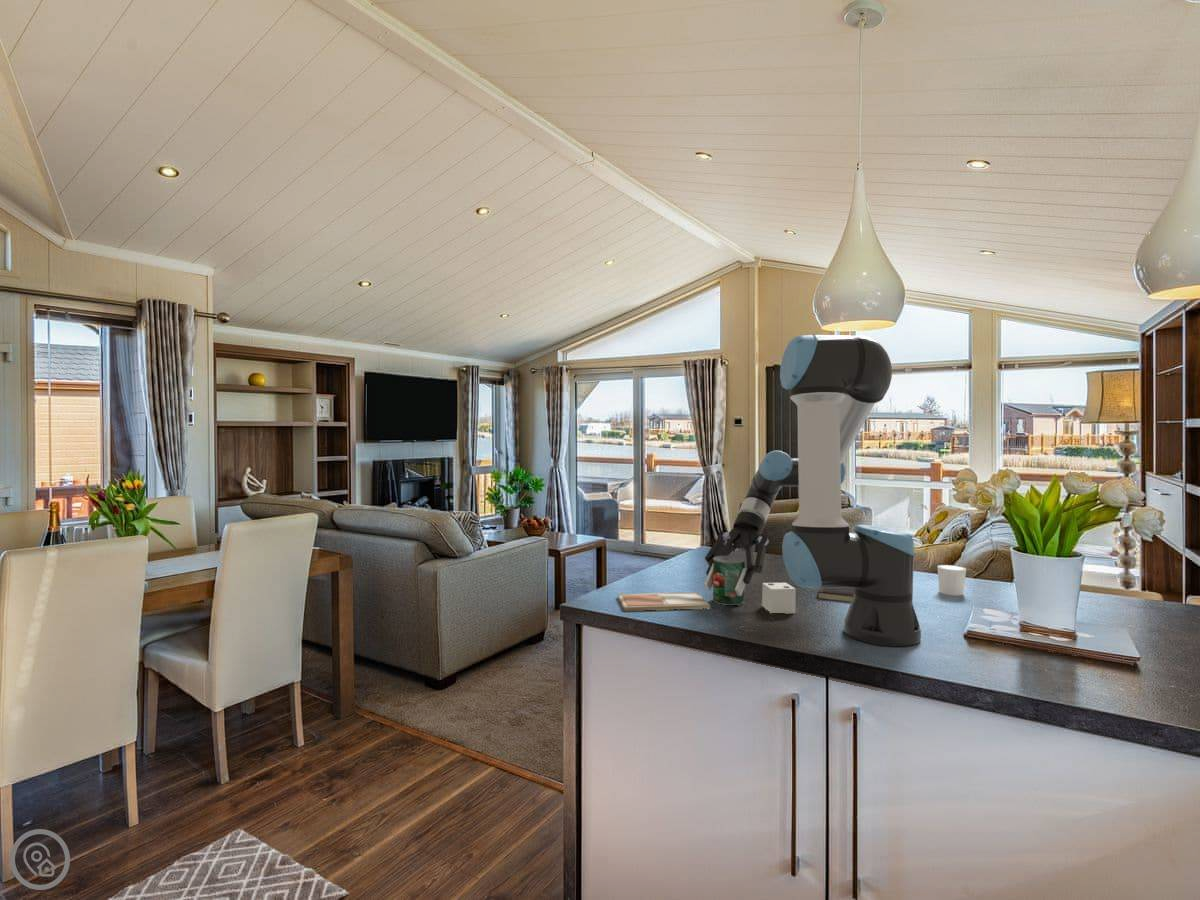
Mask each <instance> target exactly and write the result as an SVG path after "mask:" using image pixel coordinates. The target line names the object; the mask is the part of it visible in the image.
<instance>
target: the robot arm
mask: <svg viewBox="0 0 1200 900" xmlns="http://www.w3.org/2000/svg"><path fill="white" fill-rule="evenodd" d="M782 354H783V355H782V358H781V362H780V368H779V380H780V384H781V387H782V388H784V389H785V390H787V391H789V398H790V401H792V402H793V403H795V405H796V407H797V457H791V456H790V455H789V454H788V453H787V452H783V451H782V450H772V451H769V452H768V453H766V454H765V456H764V457H763V458H762V460H761V462H760V463H759V466H758V469H757V471H756V472H755V474H754V475H753V478H752V479H751V482H750V484H749V488H748V489H747V492H746V495H745V497H744V500H742V503H741V507H740V508H739V511H738V514H737V516H736V518H735V520H734V523H733V525H732V526H733V527H732V529H731V530H729V532H728V531H727V532H724V530H722V529H721V530H719V532H718V535H717V537H716V540H715V541H714V543H713V544H712V545H711V547H710V549H709V551H708V552H707V553H706V556H705V557H704V559H705V561H706V563H707V565H708V568H707V570H706V572H705V573H706V576H707V577H706V578H705V581H704V583H703V585H704V587H705V588H706V589H707V591H711V590H712V588H713V562H714V560H713V558H714V557H716V556H730V555H731V553H733V552H735V551H737V549H742V550H745V561H746V564H745V568H743V570H742V573H741V575H740V578H739V580H738V583H737V585H736V588H735V591H736V593H737V595H738V596H741V595H742V592H743V590H744V591H745V587H746V585H748V584H750V582H751V580H752V578H753V575H754V574H756V573H757V574H761V573H762V572H763V568H764V563H765V558H766V557H765V556H766V552H767V548H768V547H769V545H770V541H769V538H768V536H767V535H763V536H761V535H762V533H763V530H764V528H765V525H766V522H767V520H768V517H769V515H770V512H771V510H772V507H773V504H774V502H775V500H776V497H777V495H778V494H779V491H780V490H781V489H782V488H783V487H798V516H797V518H796V519H795V520H794V521H792V523H791V531H788V532H786V533H785V534H784V535H783V538H782V544H781V550H782V551H781V552H782V558H783V564H784V566H785V569H786V570H785V571H786V572H787V574H788V575H787V576H788V577H789V578H790V581H792V582H793V584H794V585H796V586H798V587H800V588H805V589H808V588H809V589H816V590H819V589H820V588H853V587H854V594H853V599H852V601H851V602H850V605H849V607H848V610H847V612H846V616H845V617H844V620H843V621H844V623H843V627H844V628H843V630H844V631H843V632H844V633H845V634H846V635H847V636H849V637H850V638H852V639H855V640H857V641H861V642H864V643H868V644H871V645H872V644H873V645H876V646H877V645H879V646H886V647H910V646H914V645H915V646H916V645H917V644H919V643H920V642H921V639H922V635H921V634H922V631H921V630H922V629H921V626H920V623H919V620H918V616H917V613H916V610H915V607H914V604H913V595H914V591H913V590H914V568H915V567H914V563H915V562H914V561H915V560H914V559H915V557H916V554H915V544H914V539H913V537H912V536H911V535H910V534H909V533H907V532H906V531H905V532H904V531H900V530H897V529H892V528H888V527H884V526H883V527H882V526H877V525H876V526H875V525H869V524H857V525H855V527H854V529H853V532H850V524H849V523H848V522H847V521H846V520H845V519H844V518H843V517H842V486H841V485H842V484H843V482H844V481H845V476H846V467H845V463H844V459H845V458H846V456H847V455H848V452H849V450H850V449H851V447H852V445H853V443H854V442H855V440H856V438H857V436H858V435H859V434H860V433H859V432H860V431H861V430H862V427H863V425H864V423H865V422H866V421H867V418H868V417H869V415H870V413H871V411H872V410H873V408H874V406H875V404H877V403H880V402H882V401H883V399H884V398H885V396H886V394H887V393H888V391H889V388H890V385H891V381H892V378H893V367H892V362H891V359H890V357H889V354H888V352H887V350H885V348H884V347H883V346H882V345H881V344H880V342H878V341H876V340H875V339H873V338H871V337H869V336H865V335H843V334H842V335H841V334H840V335H838V334H836V335H835V334H817V333H816V334H815V333H813V334H806V335H805V334H804V335H801V334H800V335H797V336H794V337H792V338H791V340H789V342H788V343H787V345H786V347H785V349H784V352H783V353H782ZM756 544H758V547H757V551H756V556H755V562H754V545H756Z"/></svg>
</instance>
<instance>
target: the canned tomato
mask: <svg viewBox="0 0 1200 900" xmlns="http://www.w3.org/2000/svg"><path fill="white" fill-rule="evenodd" d="M713 560H714V562H713V585H712V602H713V601H714V602H713V603H715V602H716V603H715V604H717V603H718V604H717V605H720V604H722V605H721V606H725V605H738V606H742V605H744V604H745V589H744V590H743V592H742V595H741V596H738V595H737V593H736V591H735V588H736V585H737V583H738V580H739V578H740V575H741V573H742V570H743V568H746V564H745V561H746V558H744V557H741V556H736V555H728V556H716V557H714V558H713ZM743 603H744V604H743ZM741 604H742V605H741Z"/></svg>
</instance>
